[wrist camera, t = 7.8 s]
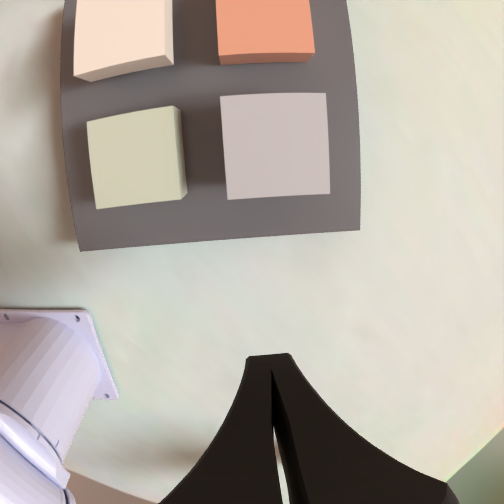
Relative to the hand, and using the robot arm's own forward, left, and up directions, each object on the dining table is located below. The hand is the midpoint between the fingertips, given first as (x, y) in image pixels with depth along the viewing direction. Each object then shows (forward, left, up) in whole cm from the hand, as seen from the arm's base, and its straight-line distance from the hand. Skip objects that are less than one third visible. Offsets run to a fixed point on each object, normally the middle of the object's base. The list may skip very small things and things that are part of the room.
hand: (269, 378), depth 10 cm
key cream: (-5, +13, -6) cm, 15 cm away
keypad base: (-2, +10, -9) cm, 14 cm away
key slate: (+1, +7, -6) cm, 9 cm away
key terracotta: (+1, +13, -7) cm, 15 cm away
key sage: (-5, +7, -7) cm, 11 cm away
